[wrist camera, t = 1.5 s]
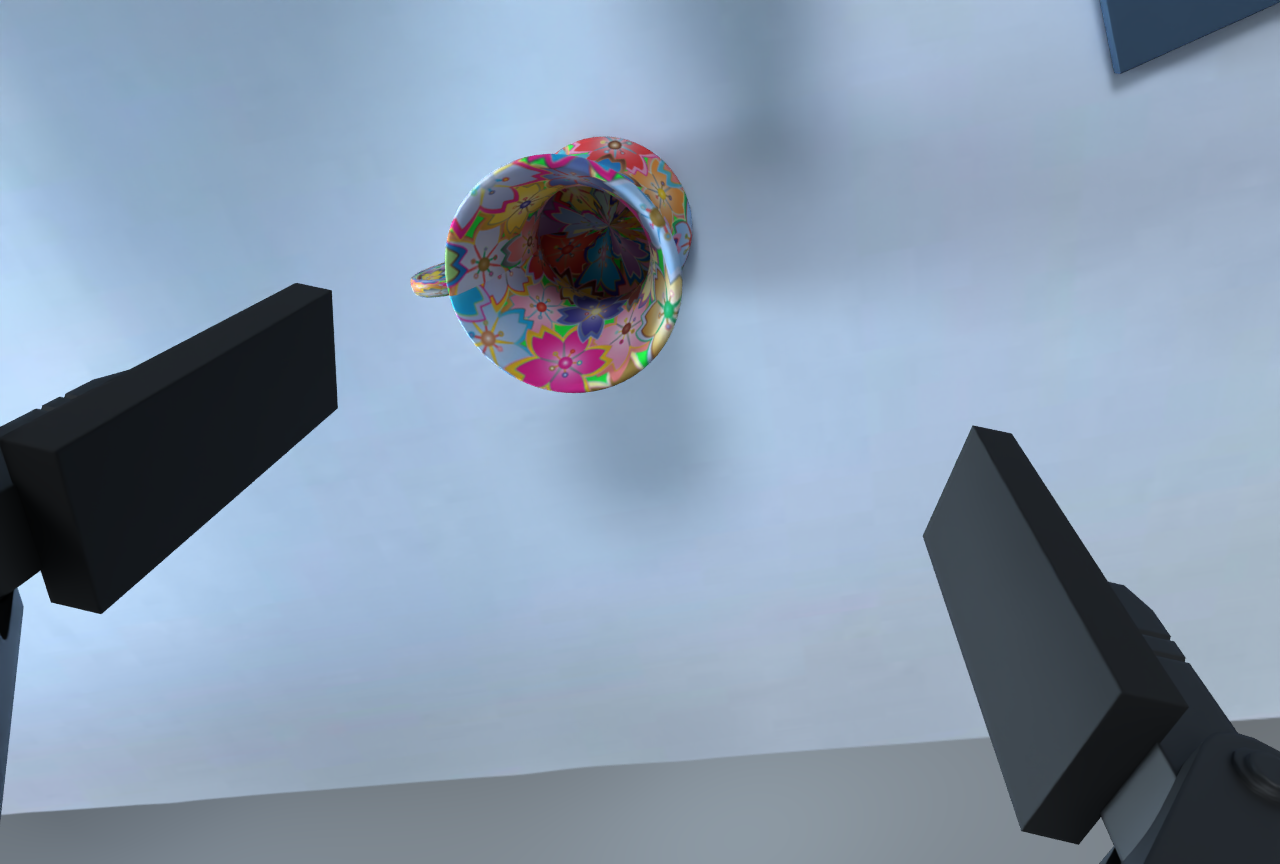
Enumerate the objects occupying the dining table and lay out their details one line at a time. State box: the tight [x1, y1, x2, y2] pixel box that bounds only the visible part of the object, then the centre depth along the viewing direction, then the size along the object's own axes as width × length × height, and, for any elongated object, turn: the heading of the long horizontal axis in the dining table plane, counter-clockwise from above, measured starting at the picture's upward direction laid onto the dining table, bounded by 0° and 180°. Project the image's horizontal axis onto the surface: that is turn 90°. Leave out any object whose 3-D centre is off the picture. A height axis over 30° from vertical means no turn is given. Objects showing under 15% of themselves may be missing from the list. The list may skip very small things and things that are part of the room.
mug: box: [411, 137, 692, 393], centre depth 32 cm, size 12×9×11 cm
